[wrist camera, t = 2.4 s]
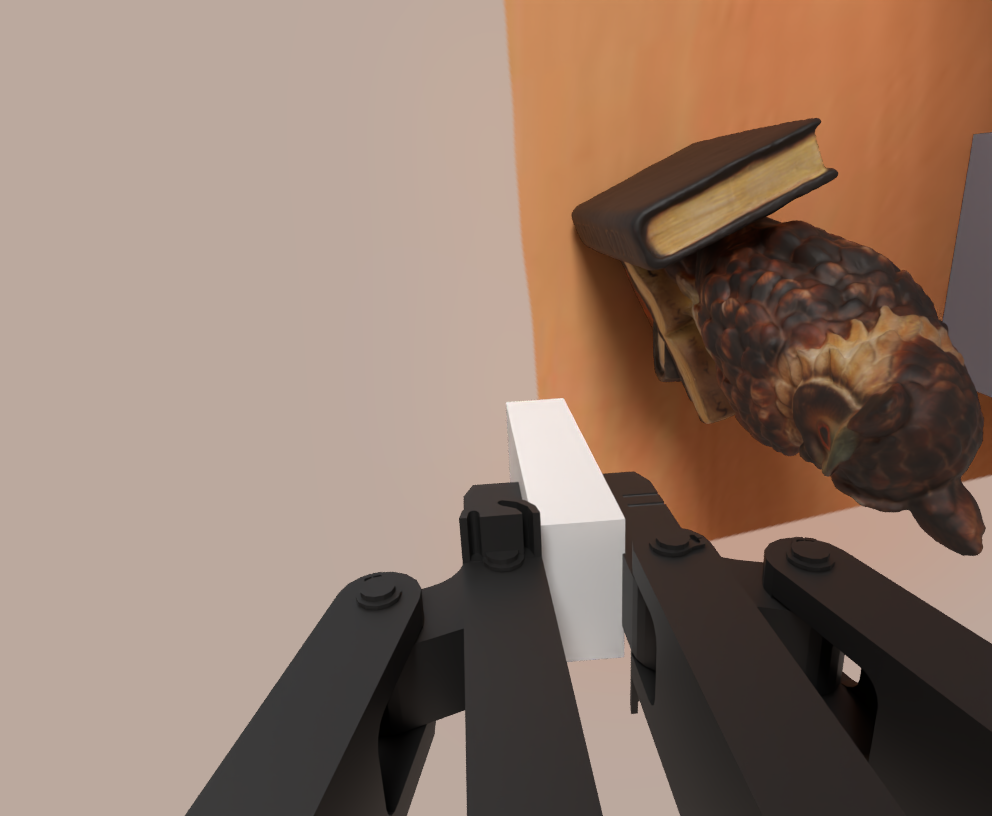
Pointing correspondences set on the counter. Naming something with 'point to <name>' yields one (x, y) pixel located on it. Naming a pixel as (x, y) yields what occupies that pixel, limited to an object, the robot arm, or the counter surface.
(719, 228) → the bookend
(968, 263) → the book row
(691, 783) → the robot arm
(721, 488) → the counter surface
